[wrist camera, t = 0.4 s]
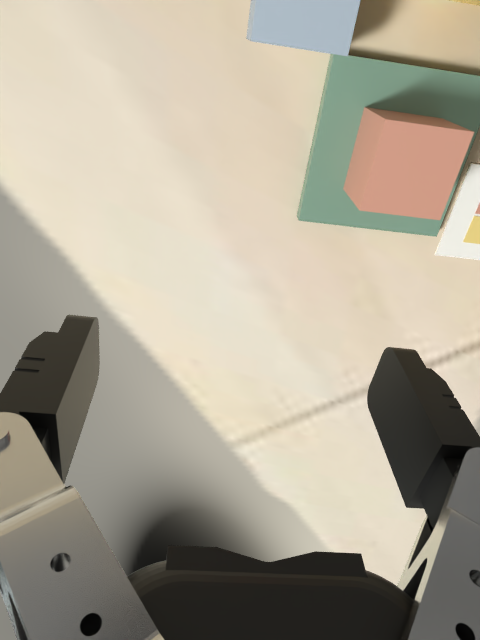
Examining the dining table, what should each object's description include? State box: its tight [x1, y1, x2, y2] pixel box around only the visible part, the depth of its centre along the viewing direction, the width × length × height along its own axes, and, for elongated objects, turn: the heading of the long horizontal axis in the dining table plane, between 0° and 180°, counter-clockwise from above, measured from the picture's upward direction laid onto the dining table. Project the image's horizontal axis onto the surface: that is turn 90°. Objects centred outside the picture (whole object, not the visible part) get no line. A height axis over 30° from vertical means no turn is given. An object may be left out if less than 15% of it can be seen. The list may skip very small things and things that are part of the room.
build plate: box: [297, 54, 480, 237], centre depth 36 cm, size 12×12×1 cm
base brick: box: [343, 107, 474, 220], centre depth 33 cm, size 6×6×5 cm
